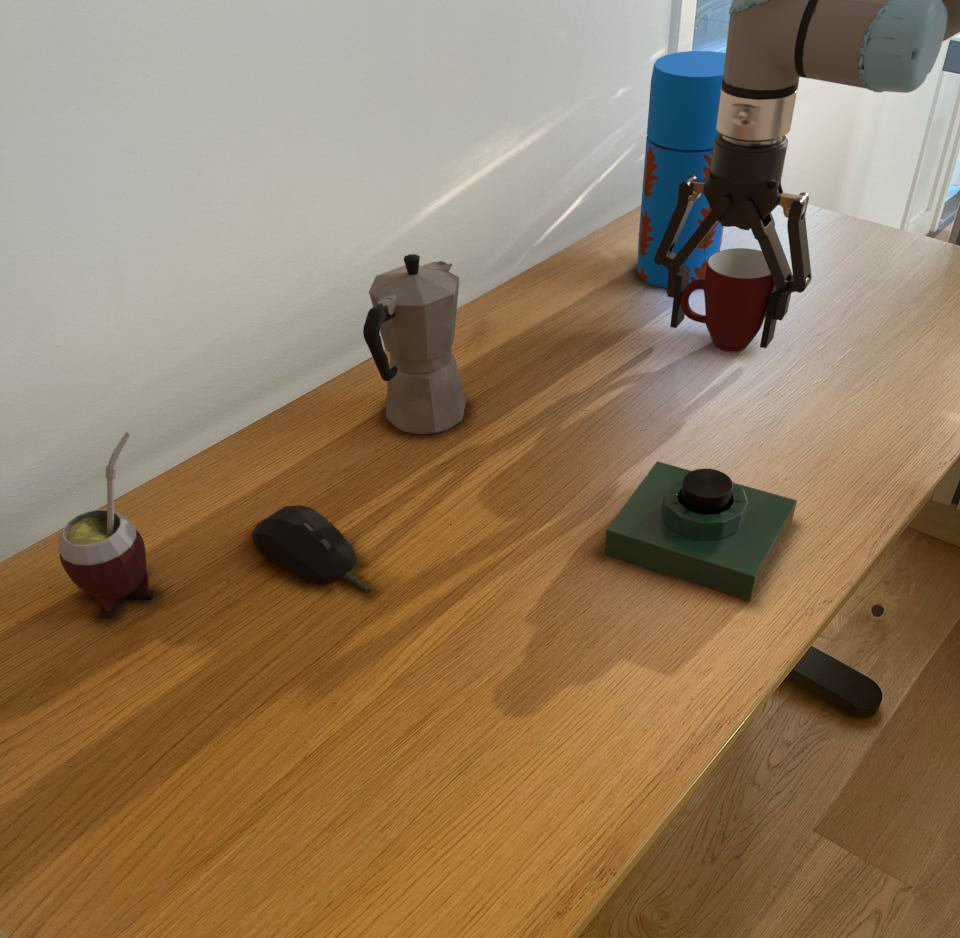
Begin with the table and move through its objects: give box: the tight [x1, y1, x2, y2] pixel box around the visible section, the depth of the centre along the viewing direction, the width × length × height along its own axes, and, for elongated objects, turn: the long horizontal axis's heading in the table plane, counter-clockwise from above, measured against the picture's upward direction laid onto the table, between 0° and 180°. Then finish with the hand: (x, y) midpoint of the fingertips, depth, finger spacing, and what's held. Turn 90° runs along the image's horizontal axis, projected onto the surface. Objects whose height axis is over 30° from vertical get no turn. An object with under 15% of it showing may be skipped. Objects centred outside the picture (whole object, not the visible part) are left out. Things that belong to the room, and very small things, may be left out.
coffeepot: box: [362, 253, 467, 435], centre depth 99 cm, size 15×9×18 cm, turn 150°
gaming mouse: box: [251, 504, 371, 593], centre depth 88 cm, size 6×15×4 cm, turn 48°
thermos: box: [637, 50, 726, 289], centre depth 119 cm, size 11×11×25 cm
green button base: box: [604, 460, 798, 602], centre depth 87 cm, size 14×12×5 cm
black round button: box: [680, 468, 734, 515], centre depth 85 cm, size 4×4×2 cm
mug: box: [681, 247, 776, 353], centre depth 111 cm, size 10×8×10 cm
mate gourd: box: [58, 431, 155, 619], centre depth 82 cm, size 8×8×15 cm
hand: (721, 332), depth 114 cm, fingers closed on mug, 10 cm apart
